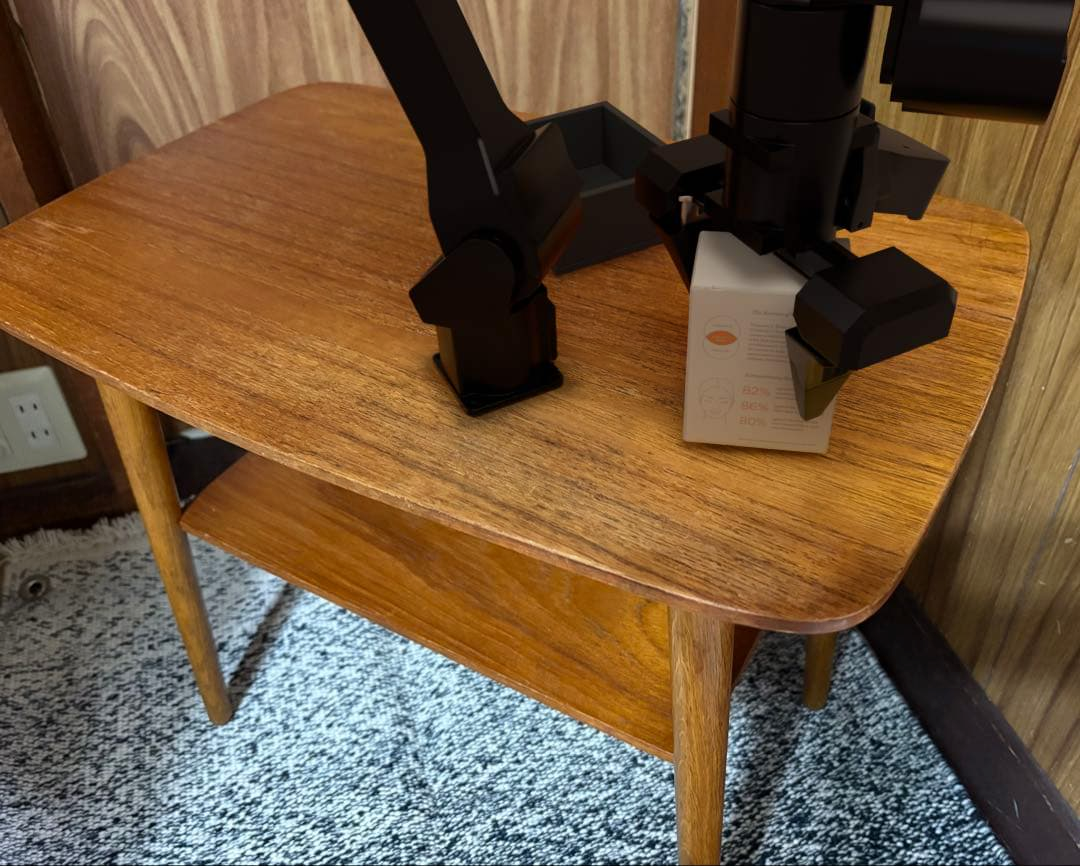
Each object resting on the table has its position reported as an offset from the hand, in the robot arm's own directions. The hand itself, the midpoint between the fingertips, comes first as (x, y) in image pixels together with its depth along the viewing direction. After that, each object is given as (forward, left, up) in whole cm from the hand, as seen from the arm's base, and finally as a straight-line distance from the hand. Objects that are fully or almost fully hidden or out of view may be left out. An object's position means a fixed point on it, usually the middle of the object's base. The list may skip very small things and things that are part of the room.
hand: (761, 371), depth 54 cm
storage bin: (+3, +27, -4) cm, 27 cm away
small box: (0, 0, -4) cm, 4 cm away
